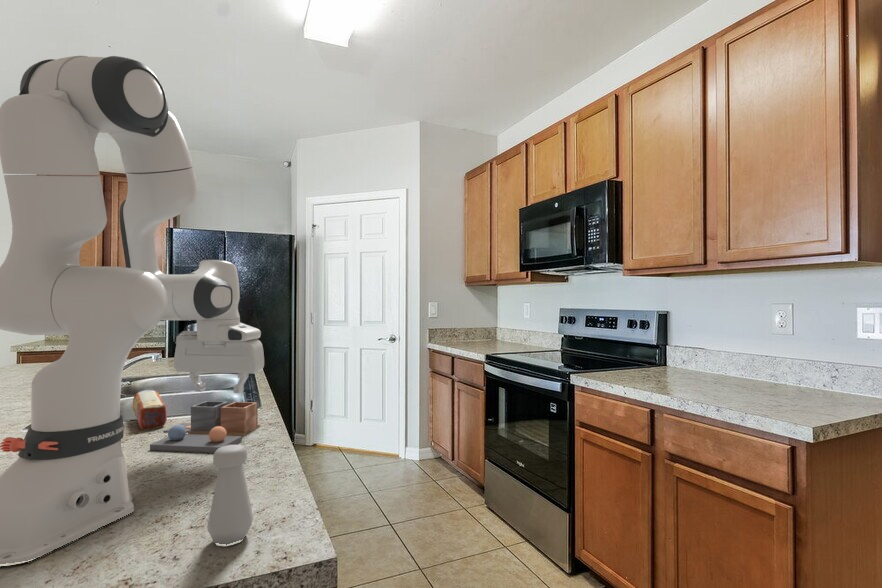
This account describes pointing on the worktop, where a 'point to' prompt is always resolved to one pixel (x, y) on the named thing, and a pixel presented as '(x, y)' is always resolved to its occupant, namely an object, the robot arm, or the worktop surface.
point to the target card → (185, 425)
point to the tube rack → (224, 417)
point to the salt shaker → (230, 497)
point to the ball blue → (176, 433)
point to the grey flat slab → (194, 443)
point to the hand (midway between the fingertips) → (219, 391)
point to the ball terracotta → (217, 434)
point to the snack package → (149, 409)
